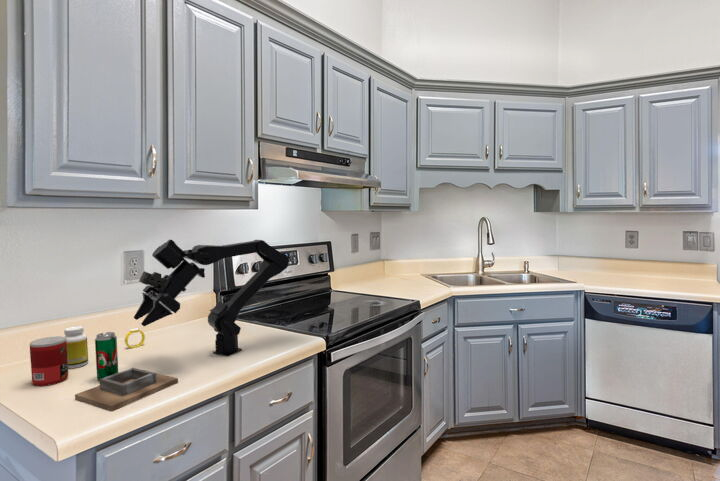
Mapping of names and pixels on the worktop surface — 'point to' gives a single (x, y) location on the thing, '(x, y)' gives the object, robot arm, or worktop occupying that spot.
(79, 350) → the pill bottle
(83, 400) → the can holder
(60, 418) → the worktop surface
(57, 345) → the canned food
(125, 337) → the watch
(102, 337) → the soda can
